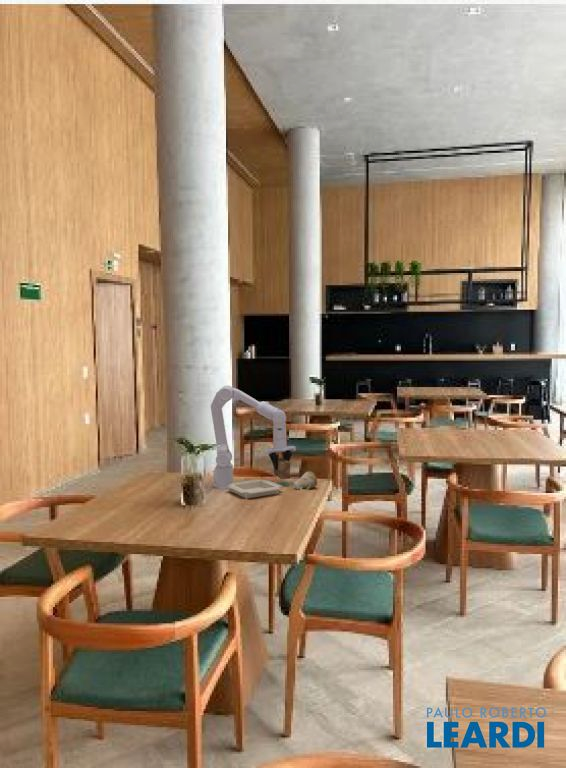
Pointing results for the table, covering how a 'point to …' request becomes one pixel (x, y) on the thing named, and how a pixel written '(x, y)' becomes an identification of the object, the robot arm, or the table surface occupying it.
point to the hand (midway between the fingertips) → (280, 468)
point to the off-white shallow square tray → (254, 488)
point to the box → (283, 469)
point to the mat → (284, 483)
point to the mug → (306, 481)
